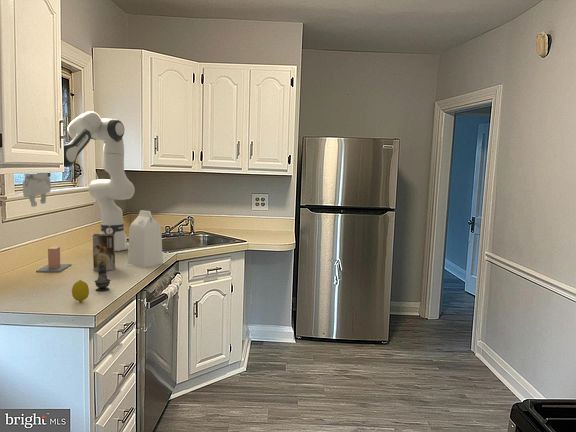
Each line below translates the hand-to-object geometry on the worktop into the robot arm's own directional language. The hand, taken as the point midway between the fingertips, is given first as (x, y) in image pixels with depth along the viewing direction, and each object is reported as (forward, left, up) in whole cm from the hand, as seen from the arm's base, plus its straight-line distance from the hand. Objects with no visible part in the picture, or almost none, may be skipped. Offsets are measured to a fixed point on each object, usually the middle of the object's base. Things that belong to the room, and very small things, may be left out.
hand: (38, 204), depth 209 cm
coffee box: (+4, +30, -29) cm, 41 cm away
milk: (-8, +46, -29) cm, 55 cm away
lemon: (+55, +36, -29) cm, 72 cm away
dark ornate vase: (+39, +39, -29) cm, 62 cm away
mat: (+4, +8, -29) cm, 30 cm away
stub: (+4, +8, -28) cm, 29 cm away
